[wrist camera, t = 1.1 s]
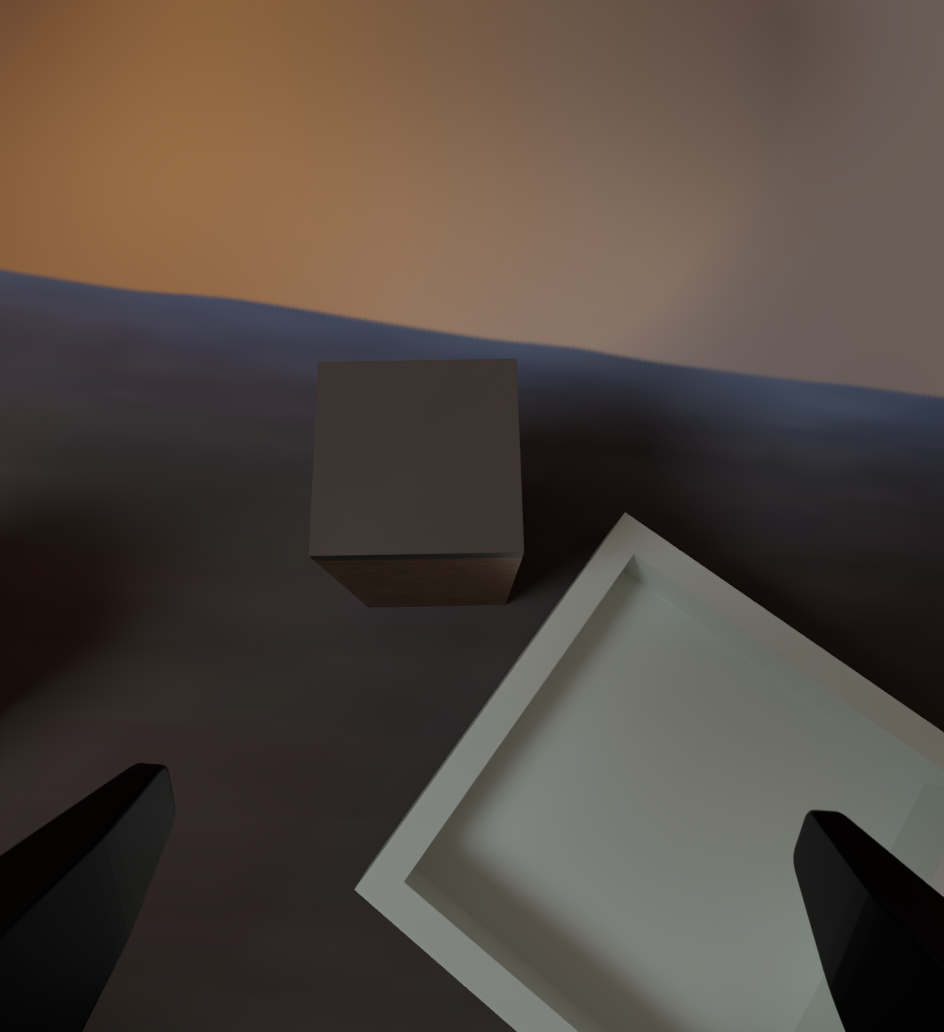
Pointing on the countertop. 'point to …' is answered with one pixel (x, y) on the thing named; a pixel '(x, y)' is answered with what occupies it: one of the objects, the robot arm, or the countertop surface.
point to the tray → (654, 810)
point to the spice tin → (418, 481)
